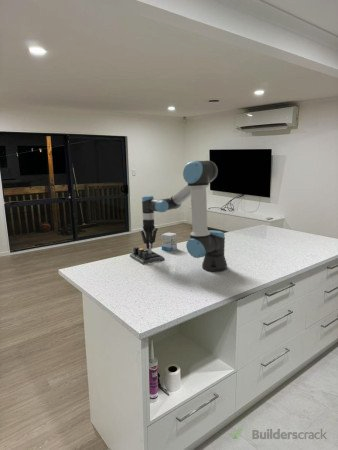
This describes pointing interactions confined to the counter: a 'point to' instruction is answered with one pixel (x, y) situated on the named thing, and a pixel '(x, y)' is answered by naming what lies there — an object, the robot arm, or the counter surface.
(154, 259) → the panel
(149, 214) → the robot arm
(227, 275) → the counter surface
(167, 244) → the ink box
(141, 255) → the handle
